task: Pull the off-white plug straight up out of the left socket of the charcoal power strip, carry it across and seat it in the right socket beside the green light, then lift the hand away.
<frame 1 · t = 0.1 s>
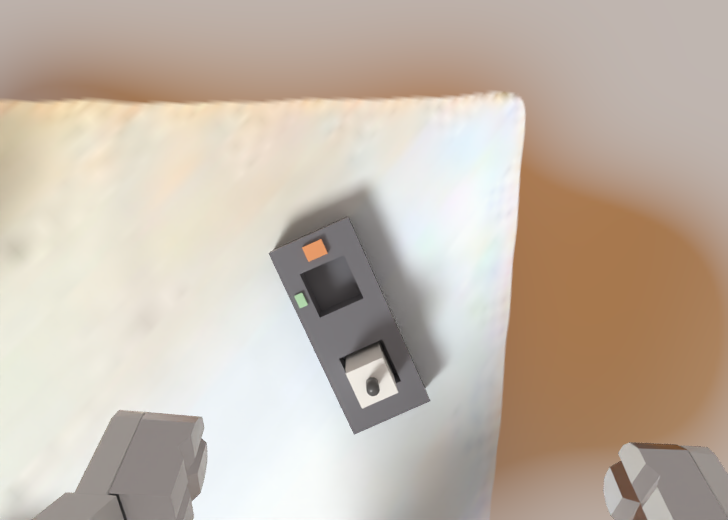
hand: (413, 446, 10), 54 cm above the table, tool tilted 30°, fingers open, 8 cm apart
plug: (368, 360, 65), resting on power strip
power strip: (350, 320, 65), on the table
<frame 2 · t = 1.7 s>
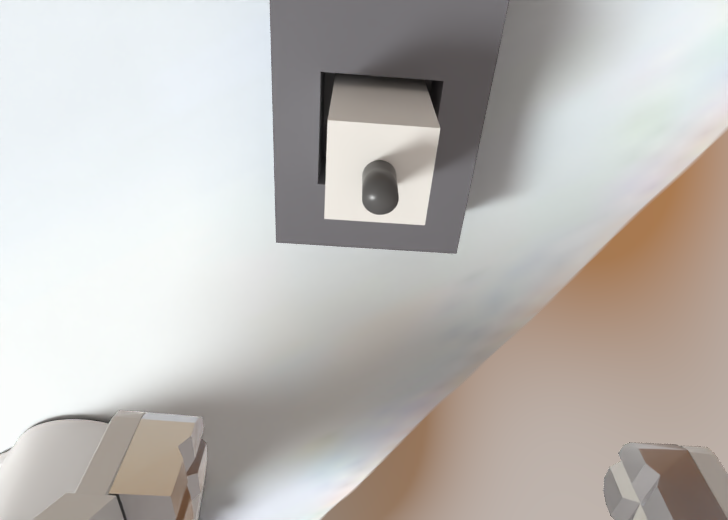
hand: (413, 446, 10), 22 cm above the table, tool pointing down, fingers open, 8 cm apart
plug: (375, 111, 28), resting on power strip
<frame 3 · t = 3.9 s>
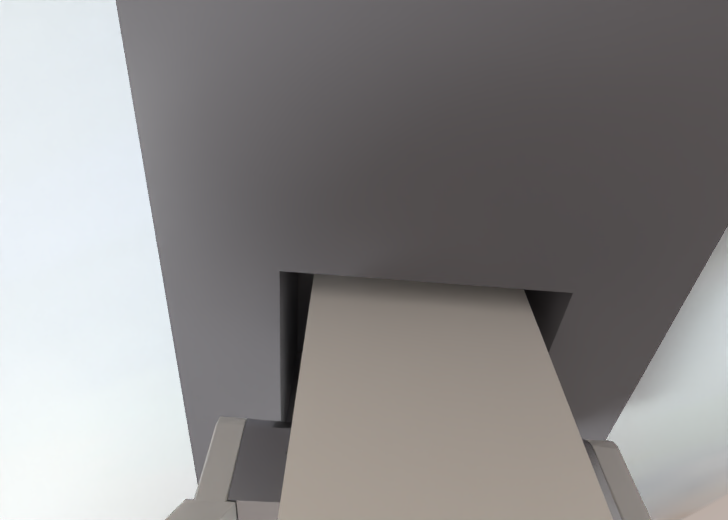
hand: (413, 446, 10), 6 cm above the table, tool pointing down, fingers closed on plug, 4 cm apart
plug: (400, 285, 14), point 1 cm above the table, touching gripper, power strip
power strip: (430, 76, 12), on the table
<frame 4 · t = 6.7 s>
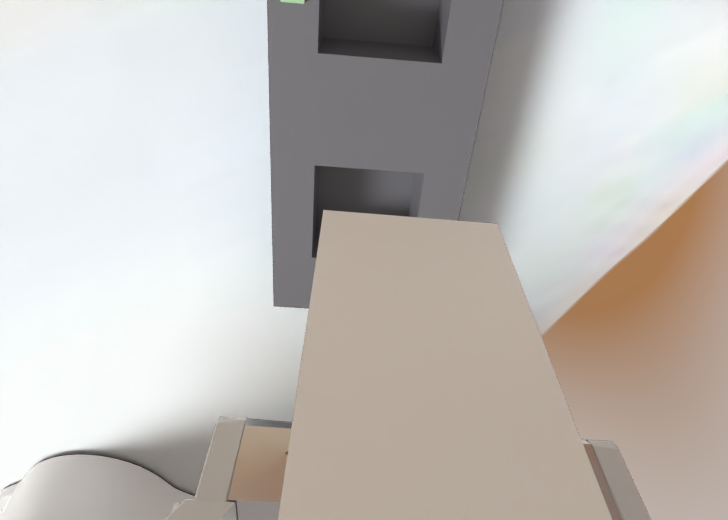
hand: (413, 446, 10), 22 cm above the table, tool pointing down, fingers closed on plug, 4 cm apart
plug: (400, 285, 14), point 17 cm above the table, touching gripper
power strip: (373, 92, 28), on the table
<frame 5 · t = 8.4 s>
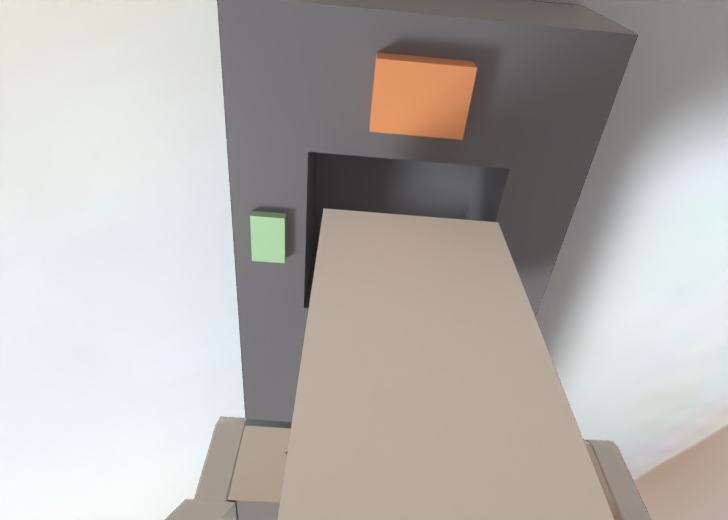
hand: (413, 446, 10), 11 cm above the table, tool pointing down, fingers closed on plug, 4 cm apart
plug: (400, 284, 14), point 6 cm above the table, touching gripper
power strip: (377, 300, 22), on the table
when the fingers open (7 cm above the table, at t = 9.7 s): plug stays where it is, resting on power strip.
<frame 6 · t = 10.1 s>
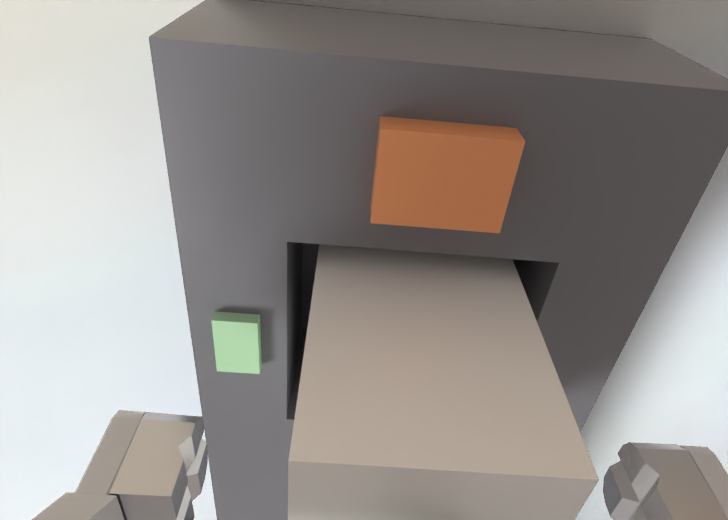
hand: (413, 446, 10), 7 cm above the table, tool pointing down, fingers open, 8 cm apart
plug: (399, 264, 15), resting on power strip
power strip: (379, 380, 19), on the table
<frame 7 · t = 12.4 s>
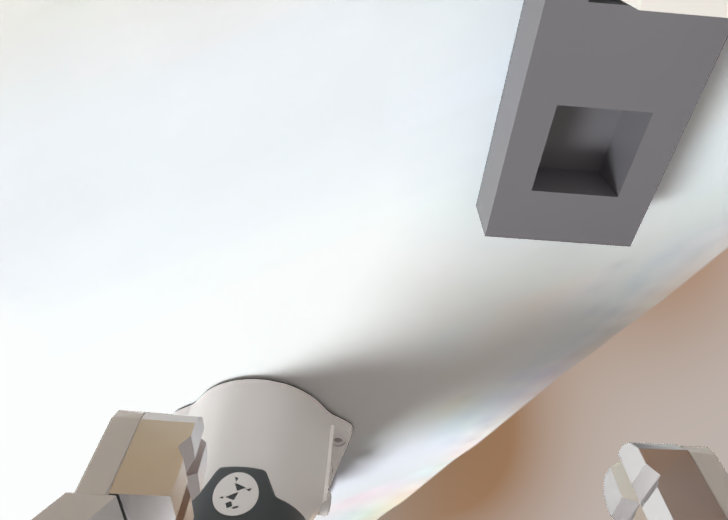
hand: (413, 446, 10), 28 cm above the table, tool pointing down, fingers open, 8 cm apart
power strip: (598, 41, 32), on the table
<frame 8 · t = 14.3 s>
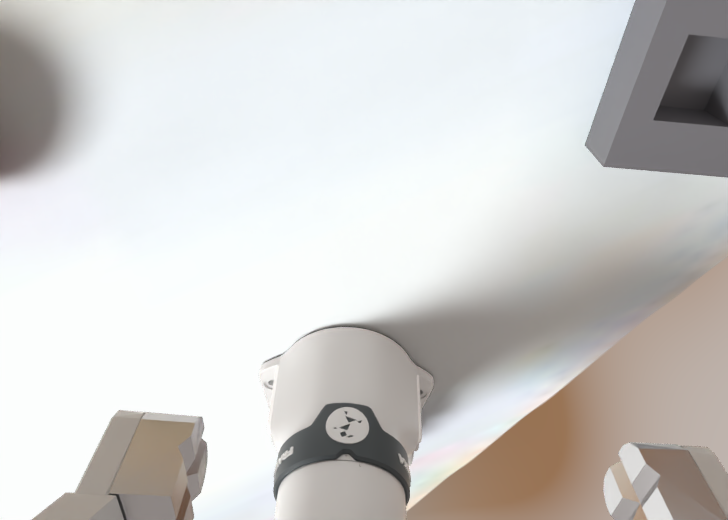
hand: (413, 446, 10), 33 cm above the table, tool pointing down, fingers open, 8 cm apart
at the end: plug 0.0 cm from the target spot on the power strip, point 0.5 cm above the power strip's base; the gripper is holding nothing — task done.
